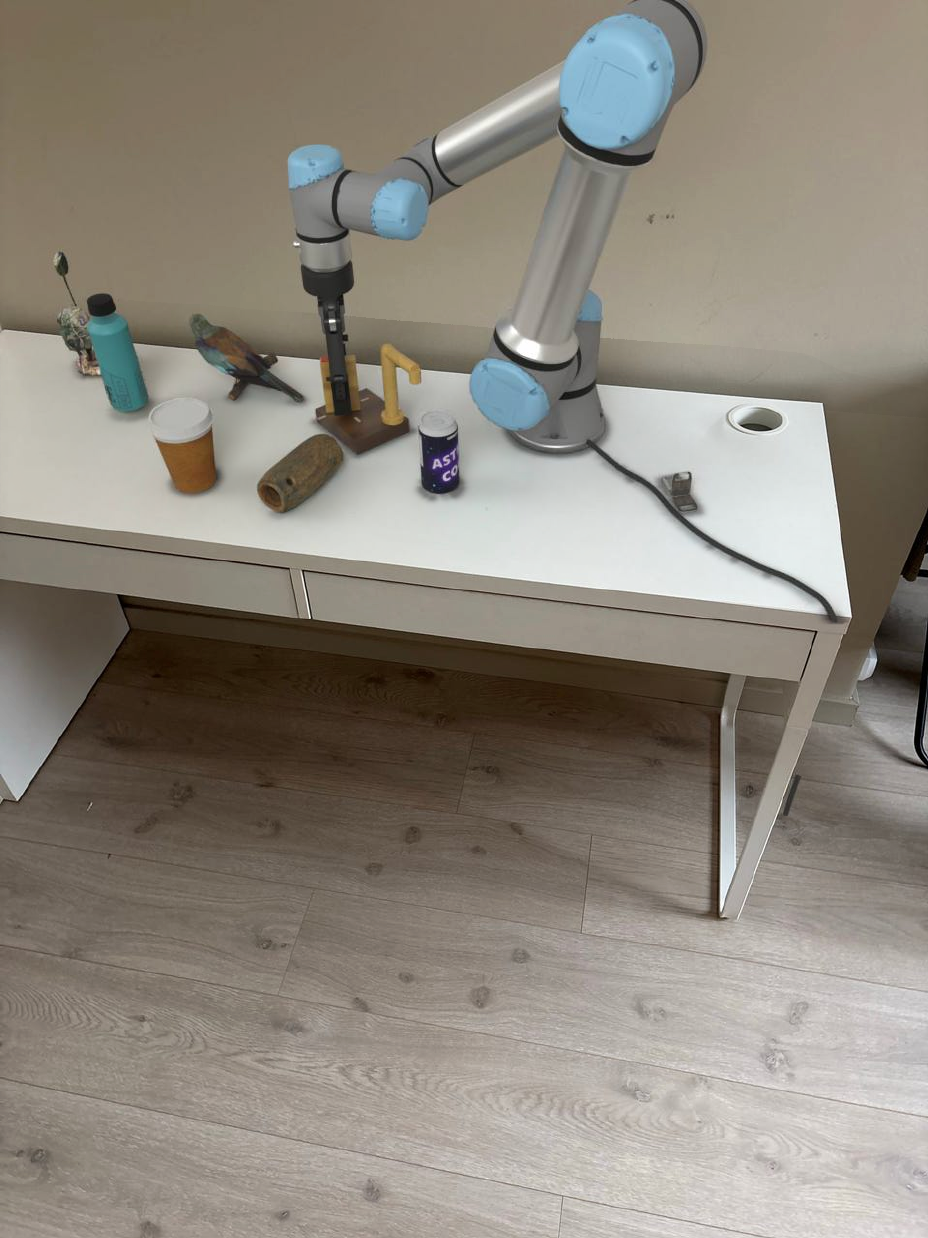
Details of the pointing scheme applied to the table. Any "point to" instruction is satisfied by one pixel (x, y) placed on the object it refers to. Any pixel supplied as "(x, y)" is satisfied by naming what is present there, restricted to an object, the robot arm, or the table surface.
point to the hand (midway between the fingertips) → (342, 396)
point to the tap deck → (362, 424)
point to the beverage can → (439, 452)
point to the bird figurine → (236, 358)
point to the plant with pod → (75, 326)
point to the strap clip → (680, 491)
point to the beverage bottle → (115, 354)
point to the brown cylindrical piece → (300, 472)
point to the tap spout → (395, 382)
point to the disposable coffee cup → (185, 442)
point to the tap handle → (352, 381)
